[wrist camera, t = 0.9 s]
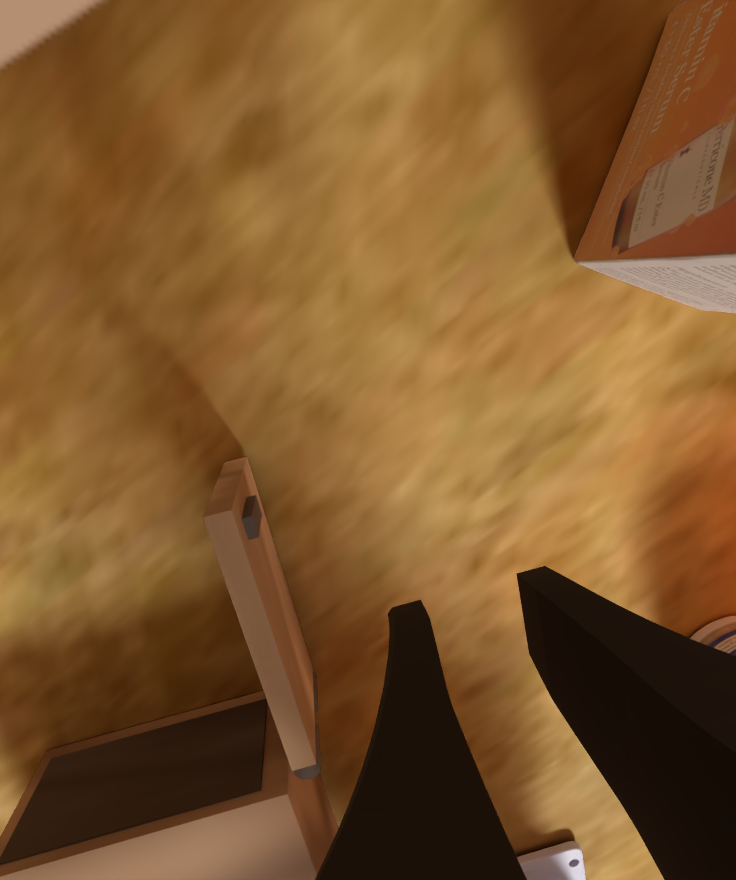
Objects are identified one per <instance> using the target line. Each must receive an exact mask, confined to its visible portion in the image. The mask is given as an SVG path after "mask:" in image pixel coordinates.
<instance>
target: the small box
mask: <svg viewBox="0 0 736 880" xmlns="http://www.w3.org/2000/svg"><path fill="white" fill-rule="evenodd" d="M574 260H575V262H576V263H577V264H580V265H582V266H585V267H587V268H590V269H592V270H595V271H597V272H600V273H602V274H605V275H607V276H610V277H613V278H615V279H618V280H620V281H623V282H626V283H628V284H631V285H634V286H637V287H639V288H642V289H645V290H647V291H650V292H653V293H655V294H658V295H661V296H663V297H666V298H669V299H671V300H674V301H676V302H679V303H682V304H685V305H688V306H691V307H694V308H696V309H699V310H706V311H720V312H729V313H736V0H686V1H684V2H683V3H681V4H680V5H678V6H677V7H676V8H675V9H673V10H672V11H671V13H670V14H669V16H668V18H667V21H666V24H665V27H664V30H663V33H662V36H661V38H660V41H659V44H658V47H657V50H656V53H655V56H654V58H653V61H652V64H651V67H650V69H649V72H648V75H647V77H646V80H645V82H644V85H643V87H642V90H641V93H640V95H639V98H638V100H637V103H636V105H635V108H634V110H633V113H632V116H631V118H630V121H629V123H628V126H627V128H626V130H625V133H624V135H623V138H622V140H621V143H620V145H619V148H618V150H617V153H616V155H615V158H614V160H613V163H612V165H611V168H610V170H609V173H608V175H607V178H606V180H605V182H604V185H603V187H602V190H601V192H600V195H599V197H598V200H597V202H596V205H595V207H594V210H593V212H592V215H591V217H590V220H589V222H588V225H587V227H586V230H585V232H584V234H583V236H582V239H581V241H580V244H579V246H578V249H577V251H576V254H575V257H574Z"/></svg>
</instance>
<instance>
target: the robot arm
mask: <svg viewBox="0 0 736 880" xmlns="http://www.w3.org/2000/svg"><path fill="white" fill-rule="evenodd" d="M517 579H518V585H519V592H520V598H521V604H522V611H523V617H524V623H525V630H526V636H527V642H528V649H529V654H530V656H531V658H532V660H533V662H534V664H535V666H536V668H537V670H538V672H539V674H540V676H541V678H542V680H543V682H544V684H545V686H546V688H547V690H548V692H549V694H550V696H551V698H552V699H553V701H554V703H555V704H556V706H557V707H558V709H559V710H560V712H561V713H562V715H563V716H564V718H565V719H566V721H567V723H568V724H569V726H570V727H571V729H572V730H573V732H574V733H575V735H576V736H577V738H578V739H579V741H580V742H581V744H582V745H583V747H584V748H585V750H586V751H587V753H588V754H589V756H590V757H591V759H592V760H593V762H594V763H595V765H596V766H597V768H598V769H599V771H600V772H601V774H602V775H603V777H604V778H605V780H606V781H607V783H608V784H609V786H610V787H611V789H612V790H613V792H614V793H615V795H616V796H617V798H618V799H619V801H620V802H621V804H622V806H623V807H624V809H625V811H626V812H627V814H628V815H629V817H630V819H631V820H632V822H633V824H634V825H635V827H636V828H637V830H638V832H639V834H640V836H641V837H642V839H643V841H644V843H645V845H646V847H647V848H648V850H649V852H650V854H651V856H652V858H653V859H654V861H655V863H656V865H657V867H658V868H659V870H660V872H661V874H662V876H663V878H664V879H665V880H736V656H735V655H732V654H729V653H726V652H724V651H721V650H718V649H716V648H713V647H710V646H707V645H705V644H702V643H700V642H697V641H695V640H692V639H690V638H688V637H685V636H683V635H681V634H678V633H676V632H674V631H672V630H669V629H667V628H665V627H663V626H660V625H658V624H656V623H654V622H651V621H649V620H647V619H645V618H643V617H641V616H639V615H637V614H635V613H633V612H631V611H629V610H627V609H625V608H623V607H621V606H619V605H617V604H615V603H613V602H611V601H609V600H607V599H605V598H603V597H601V596H599V595H597V594H596V593H594V592H592V591H590V590H588V589H586V588H585V587H583V586H581V585H579V584H577V583H575V582H574V581H572V580H570V579H568V578H566V577H564V576H563V575H561V574H559V573H557V572H555V571H553V570H551V569H550V568H548V567H546V566H543V567H539V568H536V569H532V570H528V571H525V572H521V573H517ZM388 617H389V627H390V637H389V652H388V660H387V667H386V675H385V682H384V687H383V692H382V697H381V701H380V706H379V710H378V715H377V719H376V723H375V727H374V731H373V735H372V738H371V742H370V745H369V748H368V752H367V755H366V758H365V761H364V764H363V767H362V770H361V773H360V776H359V778H358V781H357V784H356V786H355V789H354V792H353V795H352V797H351V800H350V803H349V805H348V808H347V810H346V813H345V815H344V817H343V820H342V822H341V824H340V827H339V829H338V831H337V833H336V835H335V837H334V840H333V842H332V844H331V846H330V848H329V850H328V852H327V855H326V857H325V859H324V861H323V863H322V865H321V867H320V869H319V872H318V874H317V876H316V878H315V880H586V876H585V869H584V862H583V854H582V851H581V849H580V847H579V845H578V843H576V842H574V841H569V842H565V843H562V844H558V845H555V846H552V847H548V848H545V849H542V850H539V851H535V852H532V853H529V854H525V855H522V856H519V857H516V855H515V853H514V850H513V848H512V846H511V844H510V842H509V840H508V838H507V835H506V833H505V831H504V828H503V826H502V824H501V822H500V819H499V817H498V815H497V813H496V810H495V808H494V806H493V803H492V801H491V799H490V797H489V794H488V792H487V790H486V787H485V785H484V783H483V780H482V778H481V776H480V773H479V771H478V768H477V766H476V764H475V761H474V759H473V756H472V754H471V752H470V749H469V747H468V744H467V742H466V740H465V737H464V735H463V732H462V730H461V727H460V725H459V722H458V720H457V717H456V715H455V712H454V710H453V707H452V704H451V701H450V697H449V694H448V691H447V687H446V683H445V679H444V675H443V671H442V667H441V662H440V658H439V654H438V650H437V646H436V642H435V638H434V634H433V629H432V625H431V621H430V618H429V616H428V614H427V611H426V609H425V607H424V605H423V603H422V602H421V600H418V601H414V602H411V603H407V604H403V605H400V606H396V607H392V608H391V610H390V611H389V613H388Z"/></svg>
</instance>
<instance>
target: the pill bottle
mask: <svg viewBox="0 0 736 880" xmlns="http://www.w3.org/2000/svg"><path fill="white" fill-rule="evenodd" d="M690 639H692V640H695V641H697V642H700V643H702V644H705V645H707V646H710V647H713V648H716V649H718V650H721V651H724V652H726V653H729V654H732V655H735V656H736V616H729V617H725V618H721V619H718V620H716V621H713V622H711V623H709V624H707V625H706V626H704V627H703V628H701V629H700V630H698V631H697V632H696V633H695V634H694V635H693V636H692V637H691V638H690Z"/></svg>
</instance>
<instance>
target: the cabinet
mask: <svg viewBox="0 0 736 880" xmlns="http://www.w3.org/2000/svg"><path fill="white" fill-rule="evenodd" d="M337 831H338V827H337V824H336V821H335V818H334V815H333V812H332V809H331V806H330V803H329V800H328V797H327V794H326V791H325V788H324V785H323V782H322V779H321V776H320V773H319V774H318V775H317V776H316V777H314V778H312V779H306V780H305V779H300V778H298V777H297V776H296V775H295V774H294V771H292V770H291V767H290V764H289V761H288V758H287V756H286V753H285V750H284V747H283V744H282V741H281V739H280V736H279V733H278V730H277V727H276V724H275V722H274V719H273V716H272V713H271V710H270V707H269V705H268V702H267V699H266V696H265V693H264V691H260V692H257V693H253V694H249V695H246V696H242V697H239V698H235V699H231V700H228V701H224V702H220V703H217V704H213V705H210V706H206V707H202V708H199V709H195V710H192V711H188V712H184V713H181V714H177V715H173V716H170V717H166V718H163V719H159V720H155V721H152V722H148V723H145V724H141V725H137V726H134V727H130V728H127V729H123V730H119V731H116V732H112V733H108V734H105V735H101V736H98V737H94V738H90V739H87V740H83V741H80V742H76V743H72V744H69V745H65V746H61V747H58V748H54V749H51V750H47V751H46V752H45V754H44V756H43V758H42V760H41V762H40V764H39V765H38V767H37V769H36V771H35V773H34V775H33V777H32V779H31V780H30V782H29V784H28V786H27V788H26V790H25V792H24V794H23V795H22V797H21V799H20V801H19V803H18V805H17V807H16V809H15V810H14V812H13V814H12V816H11V818H10V820H9V822H8V824H7V825H6V827H5V829H4V831H3V833H2V835H1V837H0V880H315V878H316V876H317V874H318V872H319V869H320V867H321V865H322V863H323V861H324V859H325V857H326V855H327V852H328V850H329V848H330V846H331V844H332V842H333V840H334V837H335V835H336V833H337Z"/></svg>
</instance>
